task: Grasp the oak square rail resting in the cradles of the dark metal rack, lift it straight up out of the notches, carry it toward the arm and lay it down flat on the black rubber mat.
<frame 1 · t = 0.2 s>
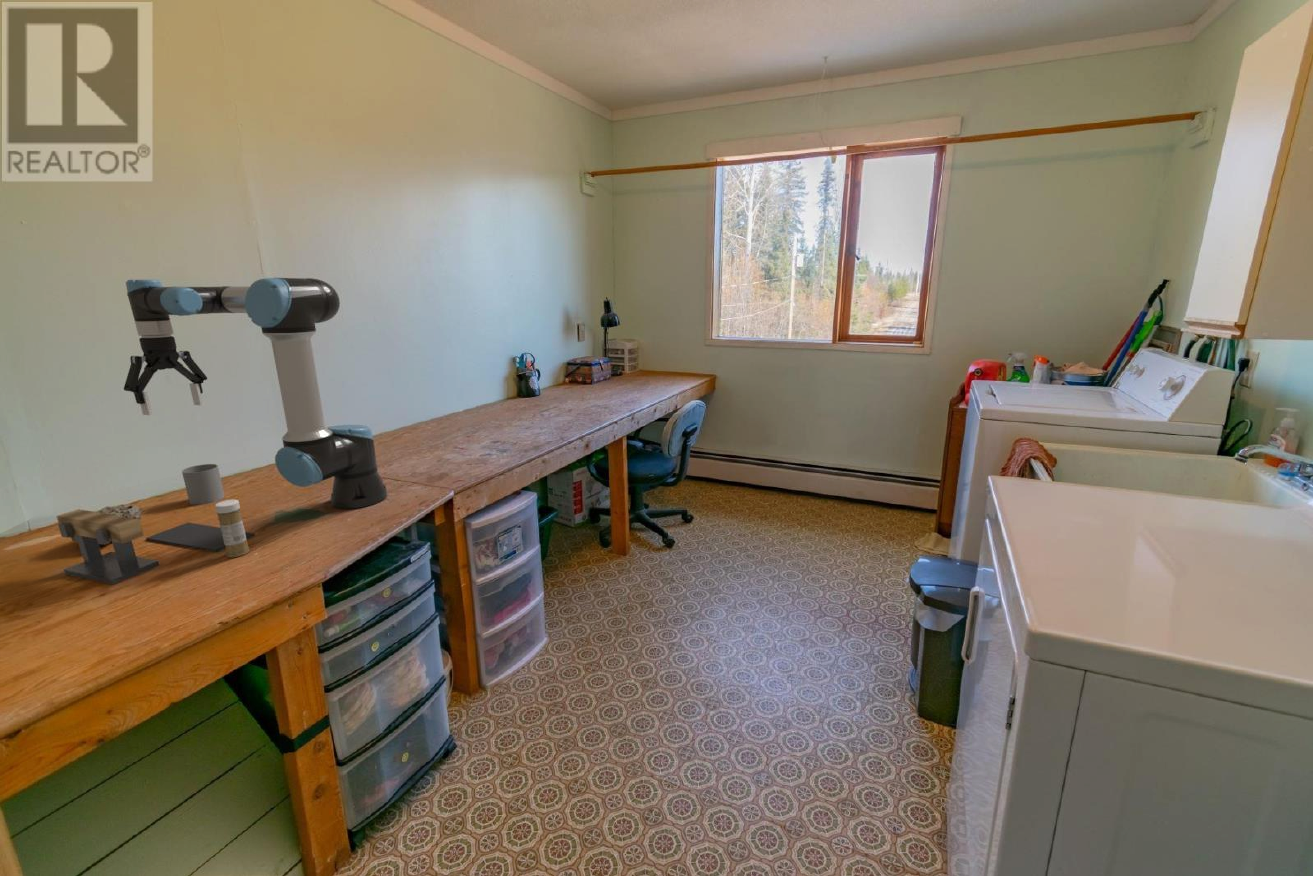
hand: (174, 409, 161), 28 cm above the workbench, fingers open, 13 cm apart
rail: (102, 533, 124), point 9 cm above the workbench, touching rack
rack: (112, 569, 127), on the workbench
pumice stone: (113, 540, 142), on the workbench
mat: (201, 537, 143), on the workbench
cup: (207, 500, 168), on the workbench
sprinkles bottle: (238, 554, 134), on the workbench
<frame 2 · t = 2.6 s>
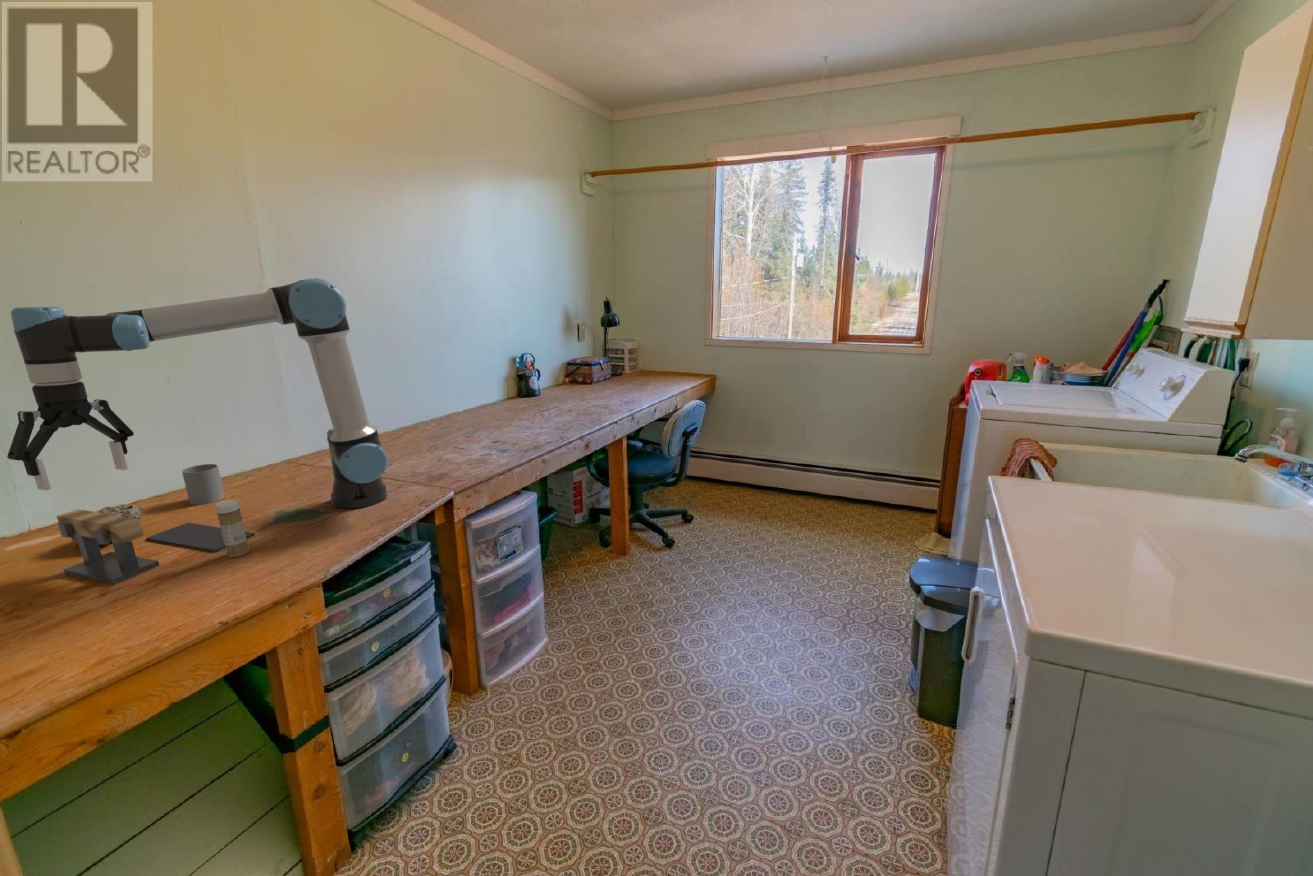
hand: (85, 478, 121), 22 cm above the workbench, fingers open, 13 cm apart
nothing on the workbench moved.
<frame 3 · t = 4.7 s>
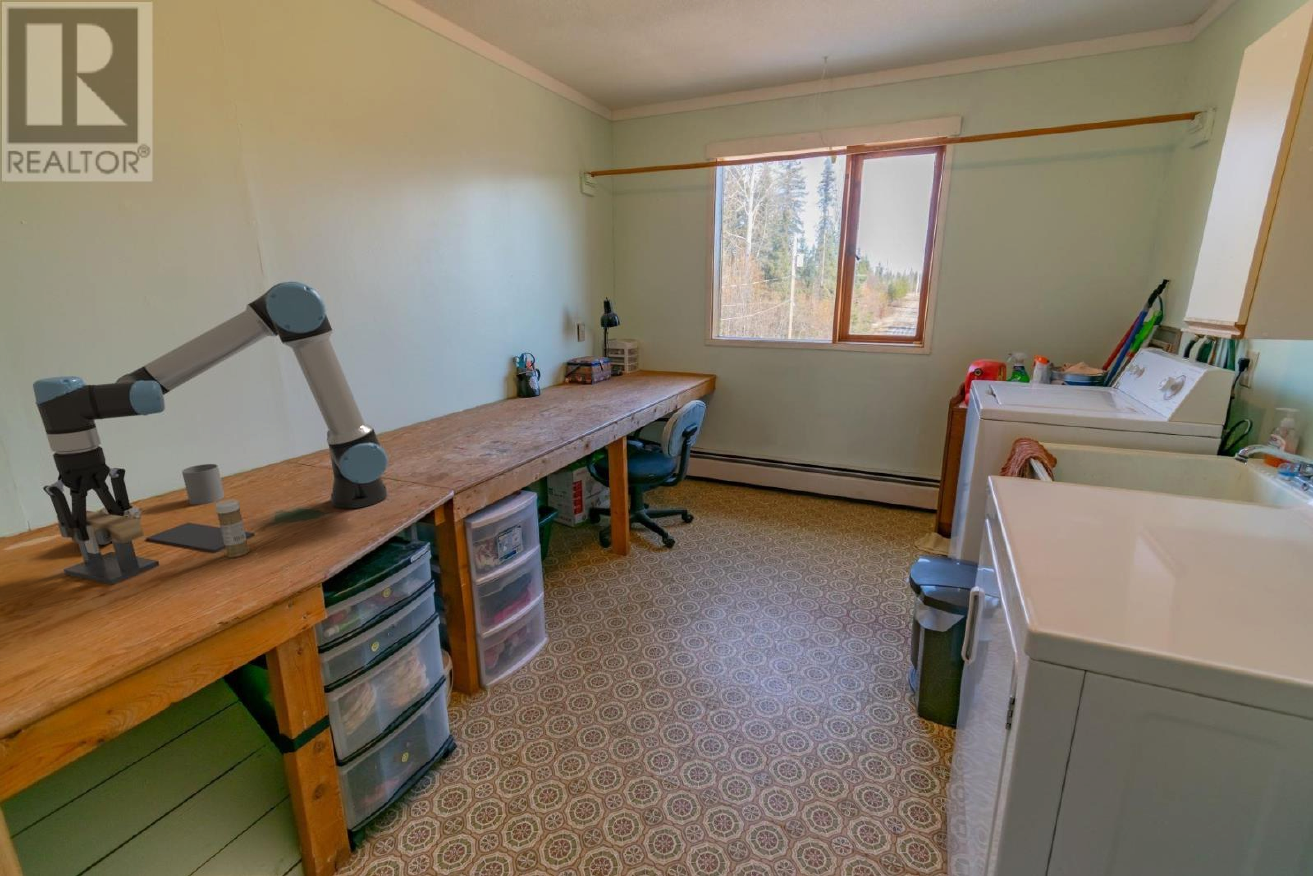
hand: (106, 547, 125), 6 cm above the workbench, fingers closed on rail, 4 cm apart
rail: (102, 533, 124), point 9 cm above the workbench, touching gripper, rack
everything else where it was.
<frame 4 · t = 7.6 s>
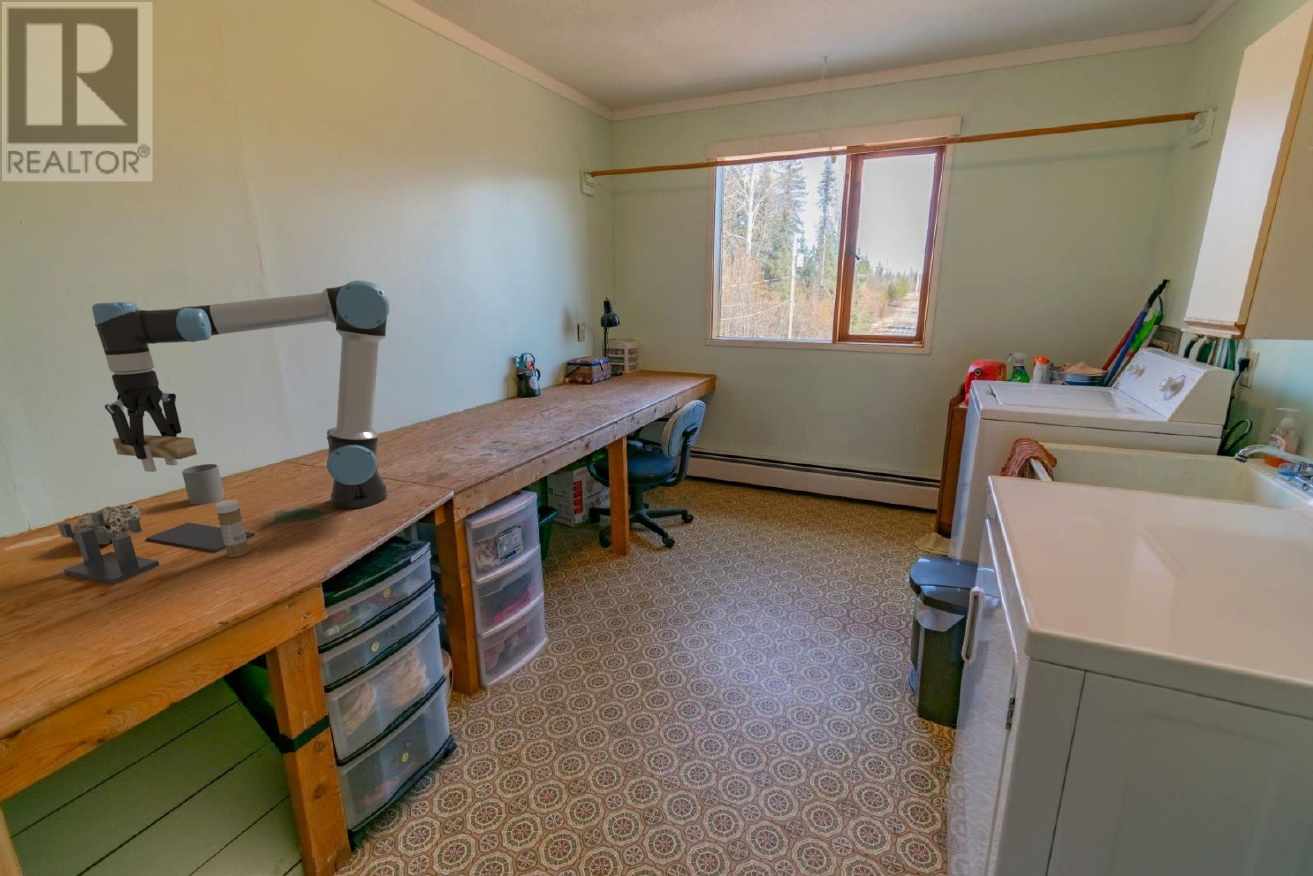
hand: (161, 467, 133), 21 cm above the workbench, fingers closed on rail, 4 cm apart
rail: (157, 454, 132), point 24 cm above the workbench, touching gripper
everything else where it was.
when the fingers open (2 cm above the workbench, at t = 10.8 s): rail drops 4 cm, resting on mat.
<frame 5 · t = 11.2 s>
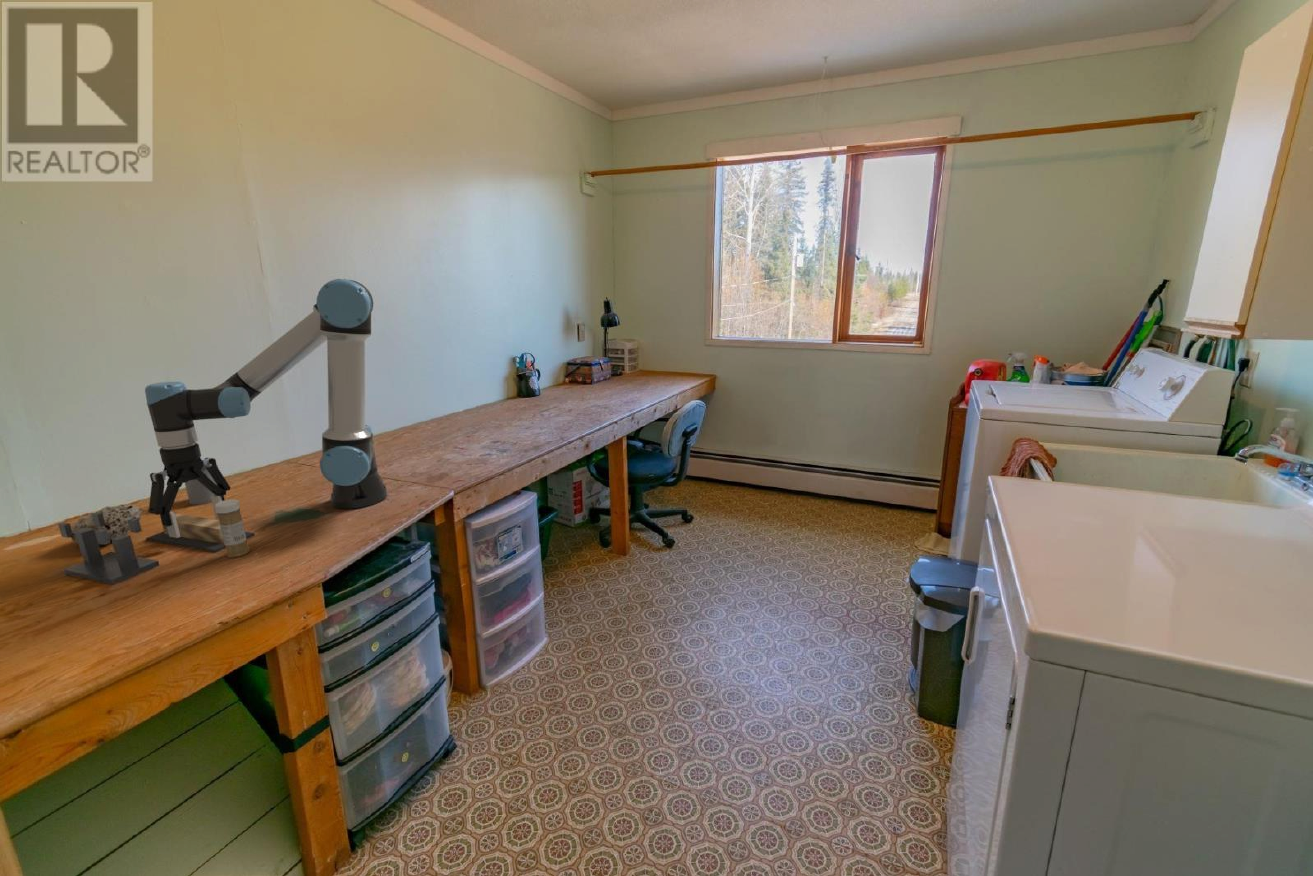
hand: (198, 527, 142), 3 cm above the workbench, fingers open, 10 cm apart
rail: (200, 535, 143), point 1 cm above the workbench, touching mat
everything else where it was.
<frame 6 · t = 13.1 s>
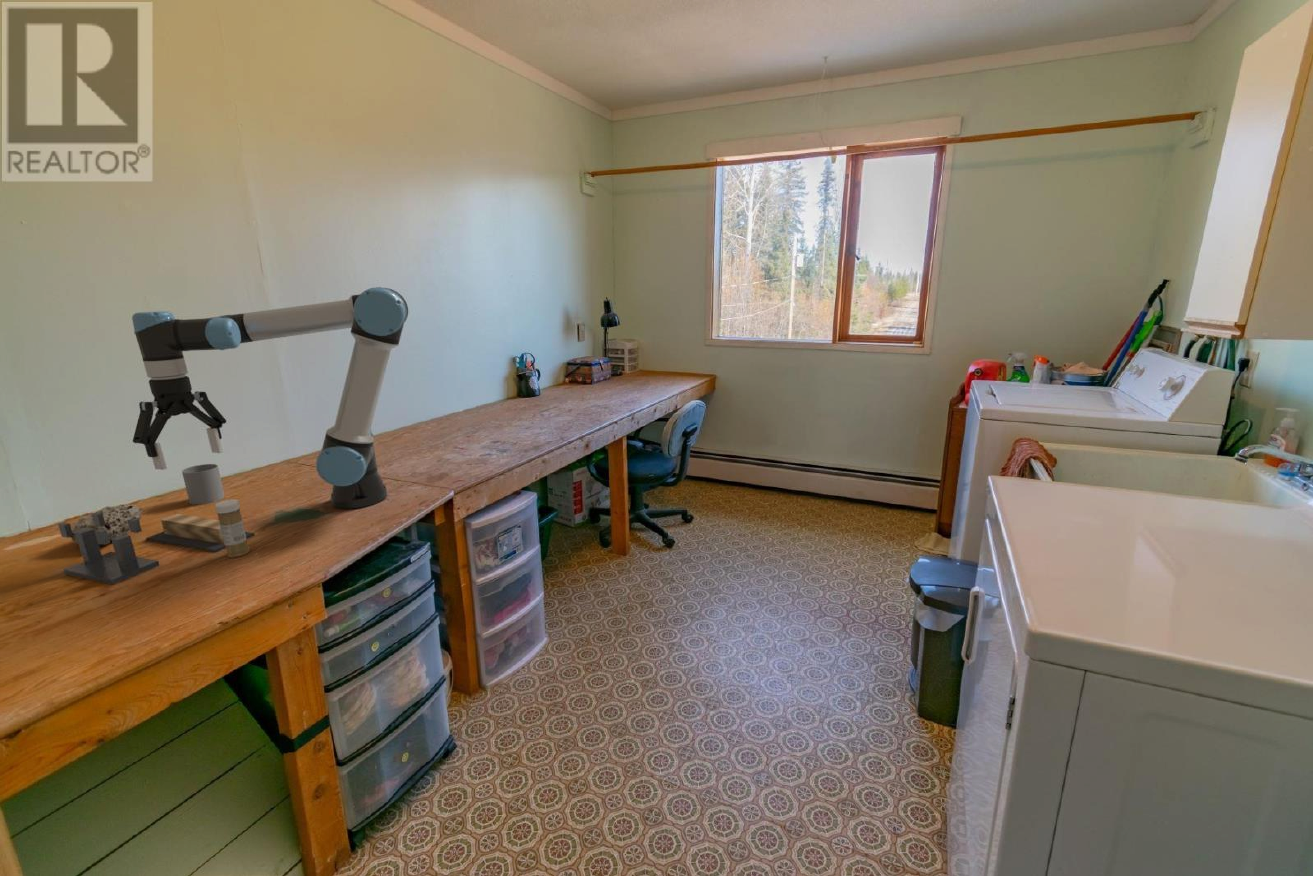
hand: (190, 460, 139), 20 cm above the workbench, fingers open, 13 cm apart
nothing on the workbench moved.
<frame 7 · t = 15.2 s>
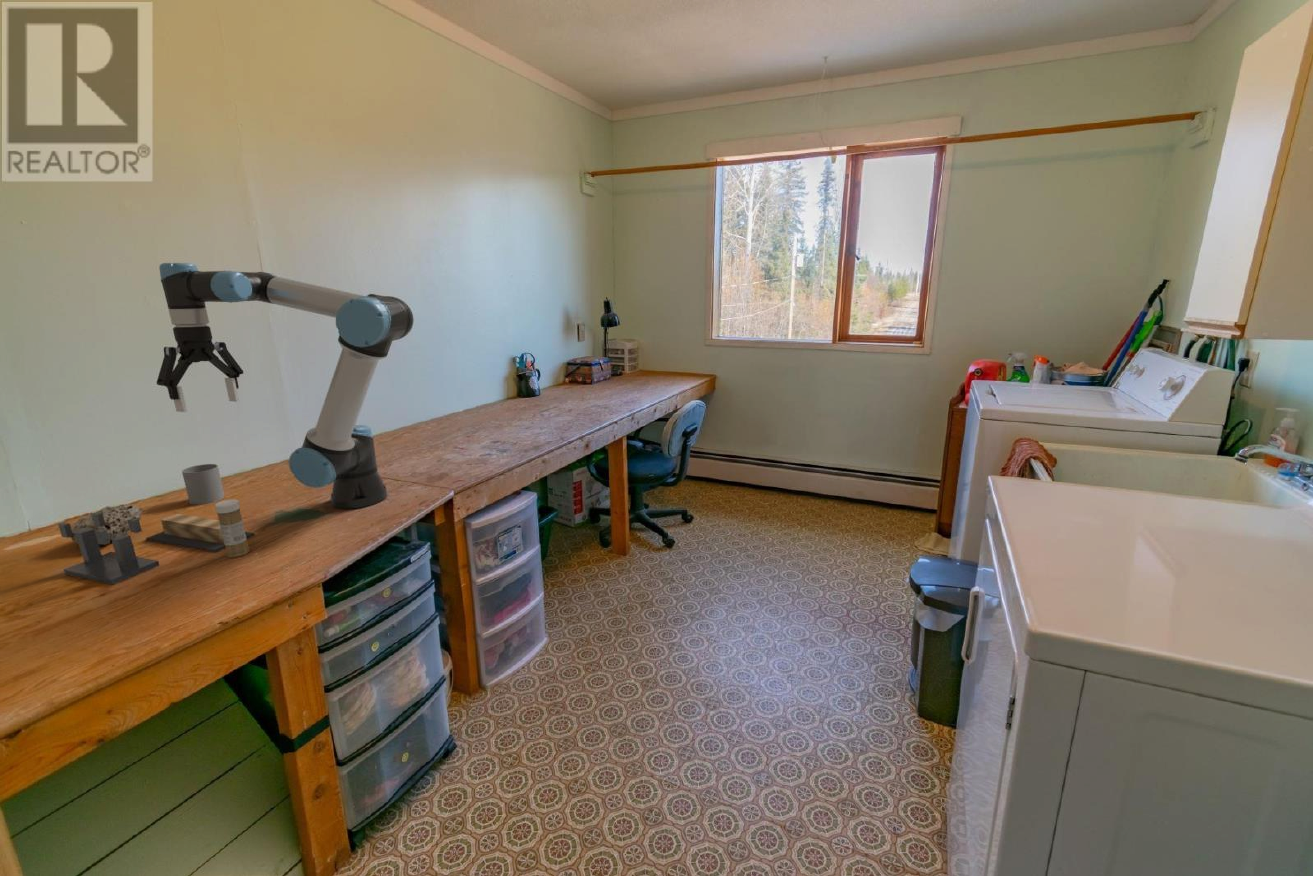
hand: (209, 406, 148), 32 cm above the workbench, fingers open, 13 cm apart
nothing on the workbench moved.
at the end: rail inside the target area on the mat (0.0 cm from its centre), point 0.6 cm above the mat's base; rail touching mat; the gripper is holding nothing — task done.
